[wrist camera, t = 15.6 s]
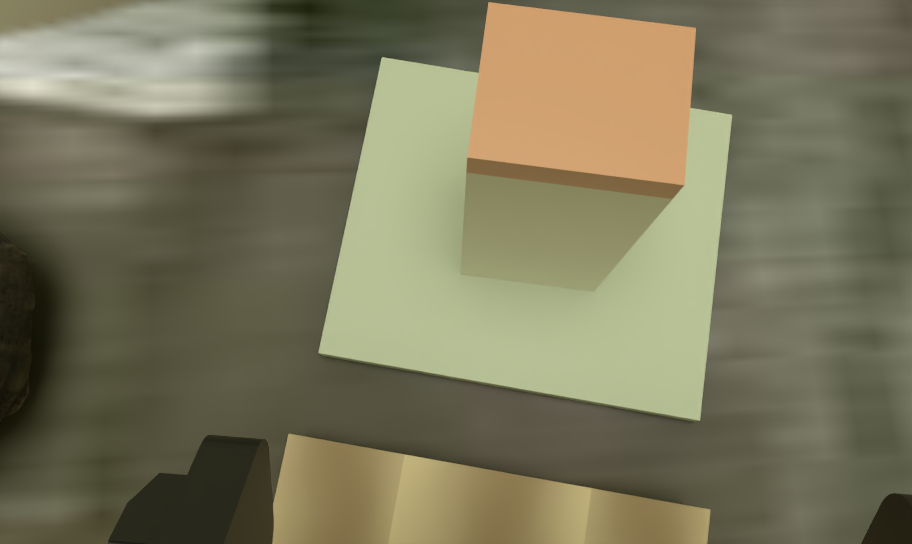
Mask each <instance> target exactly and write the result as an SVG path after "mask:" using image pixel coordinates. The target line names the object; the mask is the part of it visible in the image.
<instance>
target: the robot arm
mask: <svg viewBox="0 0 912 544" xmlns="http://www.w3.org/2000/svg"><path fill="white" fill-rule="evenodd" d="M273 532H274V513H273V500H272V486H271V473H270V460H269V448H268V443H267V441H266V440H265V439H253V438H241V437H229V436H217V435H208V436H206V437H205V438H204V440H203V441H202V443H201V445H200V447H199V450H198V452H197V454H196V457H195V459H194V461H193V463H192V466H191V468H190V470H189V472H188V475H178V474H166V473H159V474H158V475H157V476H156V477H155V478H154V479H153V480H152V481H151V482H149V483H148V484H147V485H146V486H145V487H144V488H143V489H142V490H141V491H140V492H139V493H138V494H137V495H136V496H135V497H133V498H132V499H131V500H130V501H129V502H128V503H127V505H126V507H125V509H124V511H123V513H122V515H121V517H120V519H119V521H118V522H117V524H116V526H115V528H114V530H113V532H112V534H111V536H110V538H109V540H108V541H109V543H108V544H272V542H273ZM861 544H912V495H908V494H895V493H893V494H890V495H888V496H887V497H886V498H885V499H884V500H883V502H882V503H881V505H880V507H879V509H878V511H877V513H876V515H875V517H874V519H873V521H872V523H871V525H870V527H869V529H868V531H867V533H866V535H865V537H864V539H863V541H862V543H861Z"/></svg>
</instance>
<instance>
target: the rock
mask: <svg viewBox="0 0 912 544" xmlns="http://www.w3.org/2000/svg"><path fill="white" fill-rule="evenodd" d="M33 270H34V264H33V262H32V261H31V259H30V257H29V255H28V254H26V253H24V252H23V251H21V250H20V249H18V248H17V246H15V245H14V244H12V243H11V242H10V241H9V240H8V239H7V238H6V237H4V236H3V235H2V234H1V233H0V424H1V422H2V420H3V418H4V417H6V416H9V415H11V414H13V413H15V412H17V411H20V409H21V406H22V404H23V402H24V401H25V399H26V398H27V396H28V395H29V379H28V377H29V373H30V368H31V364H32V360H33V356H32V351H31V341H32V338H31V328H32V319H33V312H34V307H35V302H36V299H35V293H34V284H33Z"/></svg>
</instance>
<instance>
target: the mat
mask: <svg viewBox="0 0 912 544" xmlns="http://www.w3.org/2000/svg"><path fill="white" fill-rule="evenodd" d="M478 76H479V73H474V72H468V71H462V70H456V69H450V68H444V67H438V66H432V65H426V64H420V63H414V62H408V61H402V60H395V59H389V58H383V57H382V60H381V64H380V69H379V74H378V78H377V83H376V88H375V92H374V97H373V101H372V106H371V111H370V115H369V120H368V125H367V129H366V134H365V139H364V143H363V148H362V153H361V157H360V162H359V167H358V171H357V176H356V181H355V185H354V190H353V194H352V199H351V204H350V208H349V213H348V218H347V222H346V227H345V232H344V236H343V241H342V246H341V250H340V255H339V260H338V264H337V269H336V274H335V278H334V283H333V287H332V292H331V297H330V301H329V306H328V311H327V315H326V320H325V325H324V329H323V334H322V339H321V343H320V348H319V354H320V355H321V356H326V357H331V358H337V359H343V360H348V361H354V362H359V363H365V364H371V365H376V366H382V367H388V368H393V369H399V370H405V371H410V372H416V373H422V374H427V375H433V376H438V377H444V378H450V379H455V380H461V381H467V382H472V383H478V384H484V385H489V386H495V387H501V388H506V389H512V390H518V391H523V392H529V393H534V394H540V395H546V396H551V397H557V398H563V399H568V400H574V401H580V402H585V403H591V404H597V405H602V406H608V407H613V408H619V409H625V410H630V411H636V412H642V413H647V414H653V415H659V416H664V417H670V418H676V419H681V420H687V421H692V422H694V421H700V415H701V405H702V396H703V386H704V377H705V367H706V358H707V348H708V339H709V329H710V320H711V310H712V301H713V291H714V282H715V273H716V263H717V254H718V244H719V235H720V225H721V216H722V206H723V197H724V187H725V178H726V168H727V159H728V149H729V140H730V131H731V121H732V115H730V114H723V113H717V112H711V111H705V110H699V109H693V108H690V117H689V131H688V144H687V158H686V172H685V185H684V186H683V188H682V189H681V190H680V191H679V192H678V194H677V195H676V196H675V197H674V198H673V199H672V201H671V202H670V203H669V204H668V205H667V206H666V208H665V209H664V210H663V211H662V212H661V213H660V215H659V216H658V217H657V218H656V219H655V221H654V222H653V223H652V224H651V225H650V226H649V228H648V229H647V230H646V231H645V232H644V233H643V235H642V236H641V237H640V238H639V239H638V240H637V242H636V243H635V244H634V245H633V246H632V247H631V249H630V250H629V251H628V252H627V253H626V255H625V256H624V257H623V258H622V259H621V260H620V262H619V263H618V264H617V265H616V266H615V267H614V269H613V270H612V271H611V272H610V273H609V274H608V276H607V277H606V278H605V279H604V280H603V281H602V283H601V284H600V285H599V286H598V287H597V289H596V290H595V291H594V292H591V291H584V290H576V289H568V288H561V287H553V286H546V285H538V284H530V283H523V282H515V281H507V280H500V279H492V278H485V277H477V276H469V275H462V274H461V258H462V240H463V222H464V205H465V187H466V170H467V155H468V148H469V141H470V134H471V126H472V119H473V112H474V105H475V97H476V90H477V83H478Z"/></svg>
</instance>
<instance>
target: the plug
mask: <svg viewBox="0 0 912 544" xmlns="http://www.w3.org/2000/svg"><path fill="white" fill-rule="evenodd" d="M695 34H696V28H692V27H684V26H676V25H668V24H660V23H652V22H644V21H636V20H628V19H619V18H611V17H603V16H595V15H587V14H579V13H571V12H563V11H555V10H547V9H539V8H531V7H522V6H514V5H506V4H498V3H490V2H489V3H488V11H487V18H486V25H485V32H484V40H483V47H482V54H481V61H480V68H479V76H478V83H477V90H476V97H475V105H474V112H473V119H472V126H471V134H470V141H469V148H468V155H467V170H466V187H465V205H464V222H463V240H462V258H461V274H462V275H469V276H477V277H485V278H492V279H500V280H507V281H515V282H523V283H530V284H538V285H546V286H553V287H561V288H568V289H576V290H584V291H591V292H594V291H595V290H596V289H597V287H598V286H599V285H600V284H601V283H602V281H603V280H604V279H605V278H606V277H607V276H608V274H609V273H610V272H611V271H612V270H613V269H614V267H615V266H616V265H617V264H618V263H619V262H620V260H621V259H622V258H623V257H624V256H625V255H626V253H627V252H628V251H629V250H630V249H631V247H632V246H633V245H634V244H635V243H636V242H637V240H638V239H639V238H640V237H641V236H642V235H643V233H644V232H645V231H646V230H647V229H648V228H649V226H650V225H651V224H652V223H653V222H654V221H655V219H656V218H657V217H658V216H659V215H660V213H661V212H662V211H663V210H664V209H665V208H666V206H667V205H668V204H669V203H670V202H671V201H672V199H673V198H674V197H675V196H676V195H677V194H678V192H679V191H680V190H681V189H682V188H683V186H684V185H685V172H686V158H687V144H688V131H689V117H690V103H691V89H692V76H693V62H694V48H695Z"/></svg>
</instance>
